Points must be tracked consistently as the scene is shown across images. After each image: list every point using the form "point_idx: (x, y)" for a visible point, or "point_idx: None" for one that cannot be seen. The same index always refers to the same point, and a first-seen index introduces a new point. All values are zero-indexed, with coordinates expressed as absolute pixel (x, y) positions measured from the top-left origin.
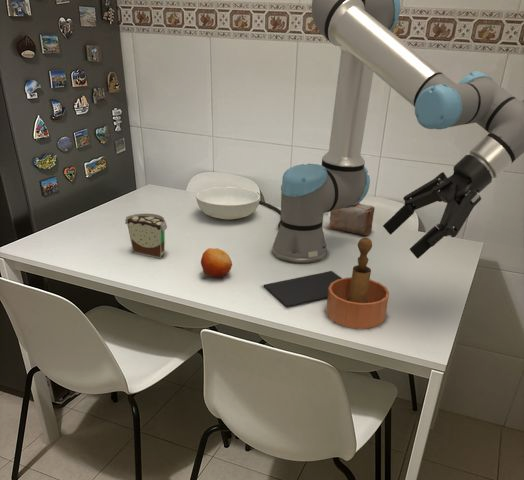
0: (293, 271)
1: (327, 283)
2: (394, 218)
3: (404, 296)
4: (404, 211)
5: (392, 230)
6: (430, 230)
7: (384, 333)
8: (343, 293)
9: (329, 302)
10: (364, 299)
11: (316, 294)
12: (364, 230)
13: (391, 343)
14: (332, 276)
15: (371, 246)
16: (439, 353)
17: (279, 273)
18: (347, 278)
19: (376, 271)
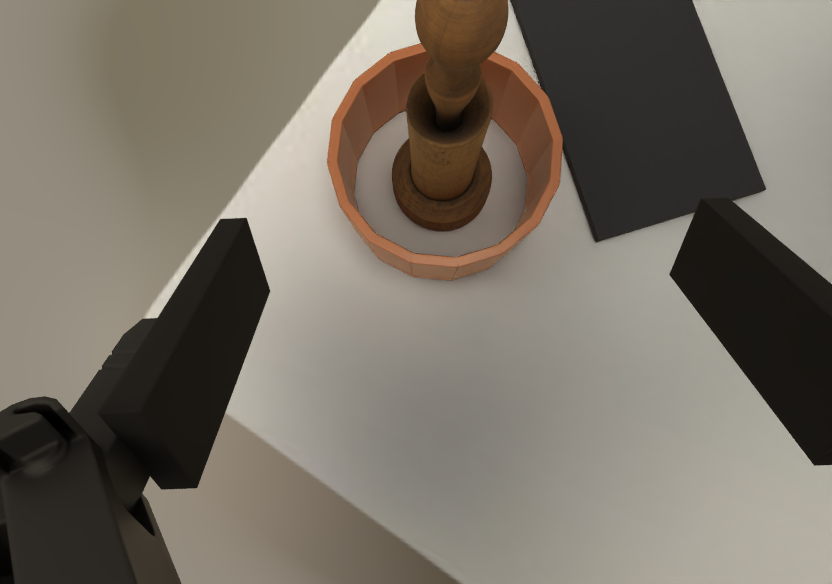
0: (780, 59)
1: (656, 145)
2: (758, 265)
3: (543, 398)
4: (827, 359)
5: (688, 278)
6: (158, 358)
7: (310, 235)
8: (531, 153)
9: None
10: (414, 175)
11: (574, 87)
12: None
13: (252, 235)
14: (715, 179)
15: (427, 46)
16: None
17: (765, 8)
18: (552, 138)
19: None
